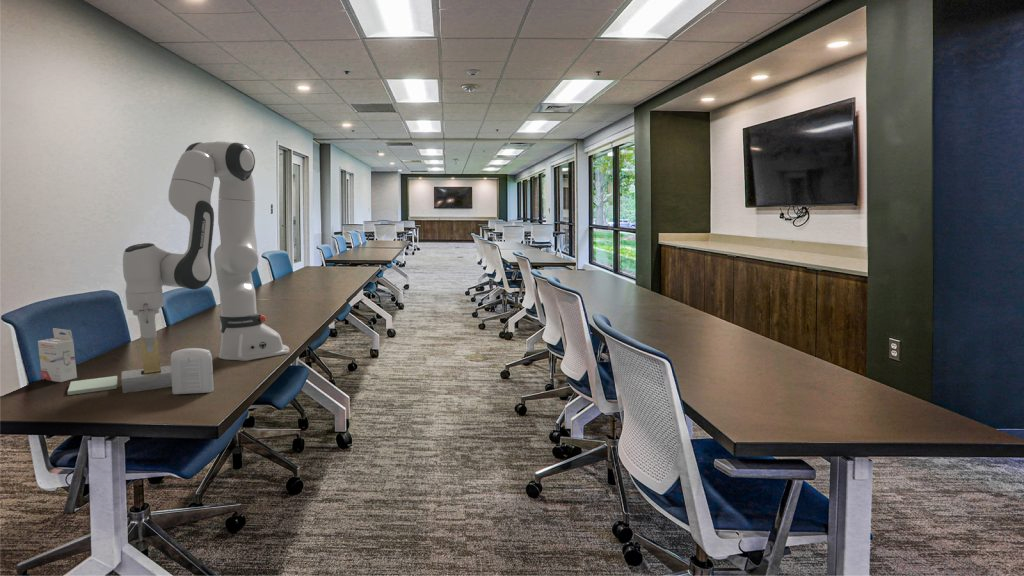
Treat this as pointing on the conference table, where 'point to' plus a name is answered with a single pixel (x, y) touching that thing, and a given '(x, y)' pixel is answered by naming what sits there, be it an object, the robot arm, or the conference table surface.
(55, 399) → the conference table surface
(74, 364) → the ink cartridge box
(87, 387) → the sage mat
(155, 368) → the brass peg
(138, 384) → the grey block with holes
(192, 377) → the photo printer
